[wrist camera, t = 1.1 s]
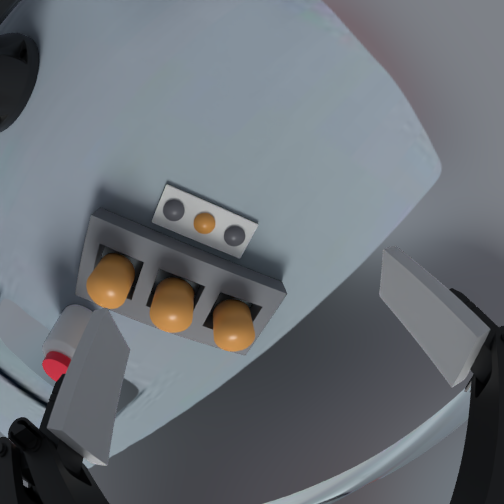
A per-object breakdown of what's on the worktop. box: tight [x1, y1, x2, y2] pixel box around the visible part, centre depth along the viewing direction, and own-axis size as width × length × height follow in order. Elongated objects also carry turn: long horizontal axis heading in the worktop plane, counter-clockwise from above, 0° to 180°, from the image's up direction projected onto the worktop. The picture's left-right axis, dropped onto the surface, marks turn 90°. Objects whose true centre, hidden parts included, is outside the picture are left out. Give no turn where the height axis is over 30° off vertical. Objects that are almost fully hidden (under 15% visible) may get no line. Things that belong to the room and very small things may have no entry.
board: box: [75, 208, 287, 355], centre depth 35 cm, size 26×12×3 cm, turn 62°
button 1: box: [213, 299, 255, 351], centre depth 34 cm, size 5×5×4 cm
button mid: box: [150, 277, 194, 333], centre depth 32 cm, size 5×5×4 cm
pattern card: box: [152, 184, 258, 259], centre depth 33 cm, size 12×5×1 cm, turn 62°
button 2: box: [86, 253, 135, 309], centre depth 30 cm, size 5×5×4 cm
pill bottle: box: [42, 304, 93, 382], centre depth 32 cm, size 8×8×11 cm
